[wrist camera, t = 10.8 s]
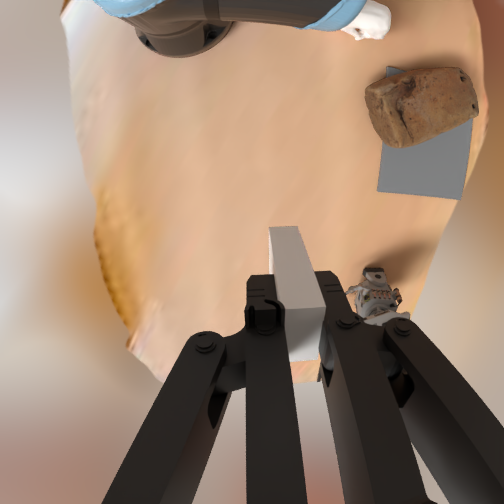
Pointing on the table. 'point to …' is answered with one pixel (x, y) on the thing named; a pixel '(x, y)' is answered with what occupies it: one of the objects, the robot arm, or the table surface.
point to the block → (420, 105)
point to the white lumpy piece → (370, 22)
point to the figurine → (376, 298)
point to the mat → (427, 163)
